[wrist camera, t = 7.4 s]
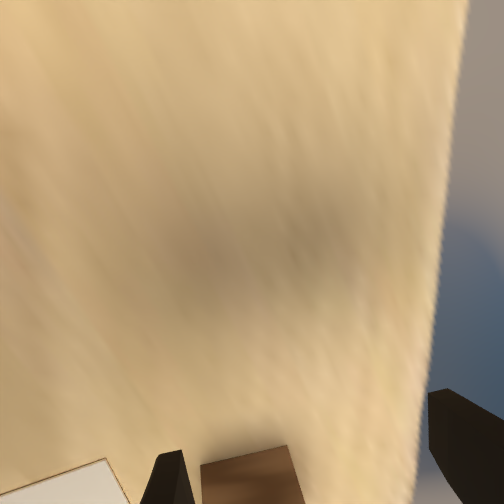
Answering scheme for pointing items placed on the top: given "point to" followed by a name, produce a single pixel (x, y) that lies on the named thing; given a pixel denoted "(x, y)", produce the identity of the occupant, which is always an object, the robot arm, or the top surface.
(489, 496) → the robot arm
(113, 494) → the page
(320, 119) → the top surface
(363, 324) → the top surface
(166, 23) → the top surface
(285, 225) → the top surface
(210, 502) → the walnut block
